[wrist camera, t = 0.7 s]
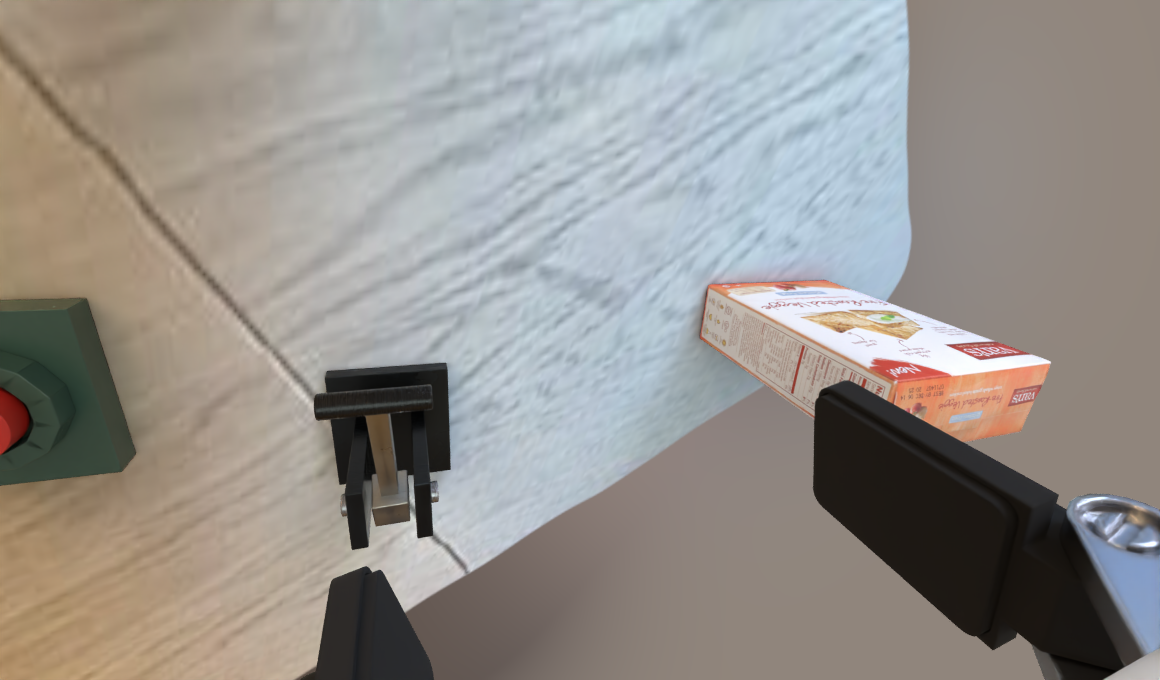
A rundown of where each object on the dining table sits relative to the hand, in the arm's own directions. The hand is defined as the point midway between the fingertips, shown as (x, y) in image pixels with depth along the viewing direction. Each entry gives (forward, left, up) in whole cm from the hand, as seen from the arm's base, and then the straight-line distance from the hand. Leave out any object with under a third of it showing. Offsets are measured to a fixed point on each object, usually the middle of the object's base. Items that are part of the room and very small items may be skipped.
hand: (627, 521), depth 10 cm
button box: (-5, -30, -32) cm, 44 cm away
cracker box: (+21, +22, -32) cm, 44 cm away
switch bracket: (+11, -13, -32) cm, 36 cm away
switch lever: (+7, -11, -21) cm, 24 cm away
